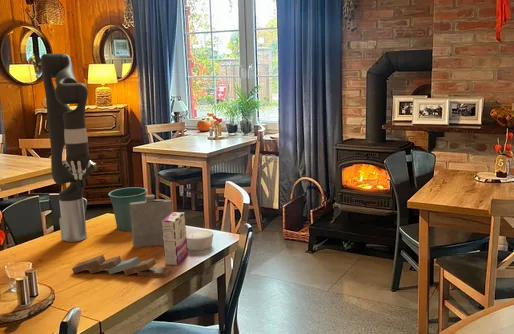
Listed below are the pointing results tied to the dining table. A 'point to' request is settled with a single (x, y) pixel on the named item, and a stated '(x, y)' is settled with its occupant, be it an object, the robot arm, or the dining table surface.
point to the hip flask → (149, 221)
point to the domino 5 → (156, 272)
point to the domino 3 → (125, 265)
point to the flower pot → (125, 205)
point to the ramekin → (199, 239)
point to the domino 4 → (141, 266)
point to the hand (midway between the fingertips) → (81, 189)
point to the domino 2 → (106, 265)
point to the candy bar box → (174, 238)
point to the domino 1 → (88, 264)
